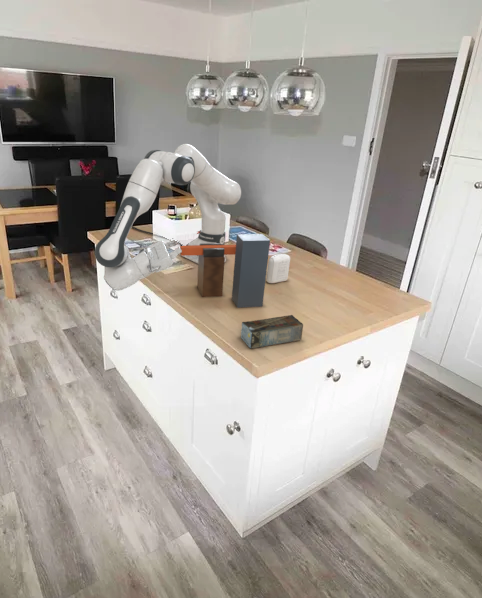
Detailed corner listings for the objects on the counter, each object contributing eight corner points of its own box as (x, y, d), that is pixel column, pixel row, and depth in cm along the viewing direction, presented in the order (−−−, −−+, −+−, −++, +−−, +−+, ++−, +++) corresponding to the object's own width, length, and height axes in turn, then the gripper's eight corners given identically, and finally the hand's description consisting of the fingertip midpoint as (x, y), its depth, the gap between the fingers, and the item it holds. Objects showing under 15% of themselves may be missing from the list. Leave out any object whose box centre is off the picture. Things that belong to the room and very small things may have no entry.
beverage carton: (239, 337, 136) (241, 319, 133) (290, 329, 143) (292, 312, 140) (249, 349, 129) (251, 331, 126) (302, 341, 136) (305, 323, 134)
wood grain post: (202, 297, 162) (204, 250, 155) (197, 286, 171) (199, 242, 163) (222, 296, 165) (225, 250, 157) (216, 286, 173) (218, 242, 165)
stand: (237, 307, 156) (243, 240, 145) (231, 298, 163) (236, 234, 152) (262, 306, 159) (270, 240, 148) (255, 297, 165) (262, 234, 155)
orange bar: (181, 255, 157) (181, 248, 155) (180, 253, 159) (180, 245, 158) (242, 254, 163) (242, 247, 162) (240, 251, 166) (240, 244, 164)
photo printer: (282, 277, 188) (286, 251, 182) (288, 280, 184) (292, 254, 179) (264, 281, 182) (267, 254, 177) (270, 284, 179) (274, 257, 174)
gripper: (144, 266, 145) (179, 246, 146) (140, 248, 163) (170, 230, 163) (153, 280, 148) (187, 261, 149) (148, 261, 166) (178, 244, 166)
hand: (178, 245), depth 156 cm, fingers open, 8 cm apart
